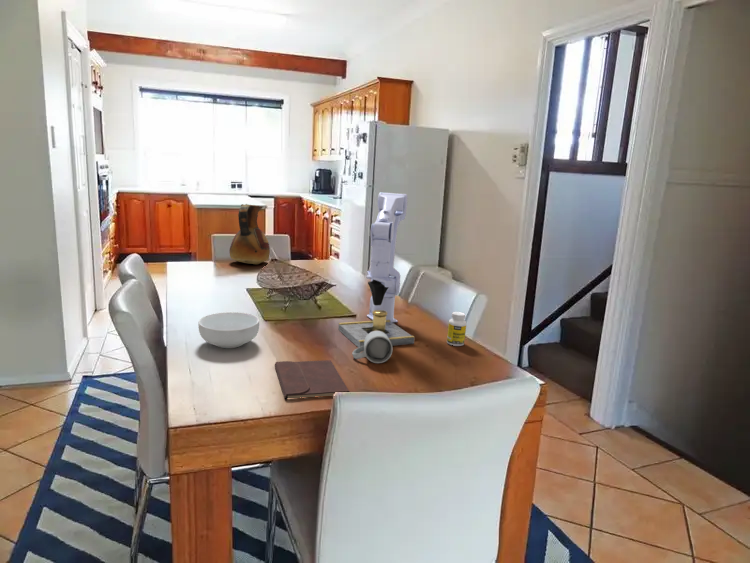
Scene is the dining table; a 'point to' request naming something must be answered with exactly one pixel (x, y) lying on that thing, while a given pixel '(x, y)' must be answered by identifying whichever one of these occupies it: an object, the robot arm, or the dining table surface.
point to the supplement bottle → (456, 329)
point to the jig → (361, 329)
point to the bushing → (379, 320)
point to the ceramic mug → (375, 348)
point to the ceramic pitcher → (249, 238)
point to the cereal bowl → (228, 329)
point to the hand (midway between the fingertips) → (377, 304)
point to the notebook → (309, 378)
